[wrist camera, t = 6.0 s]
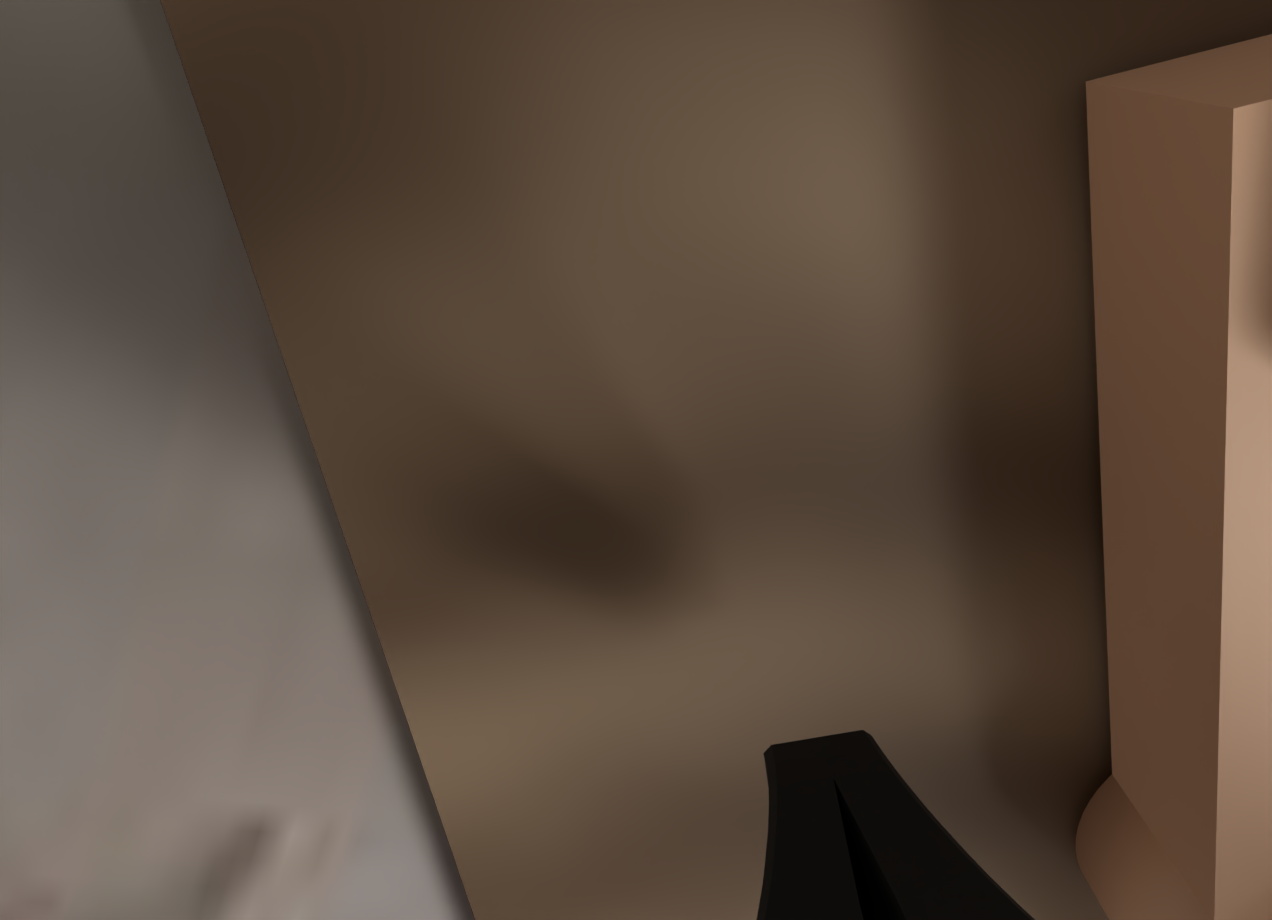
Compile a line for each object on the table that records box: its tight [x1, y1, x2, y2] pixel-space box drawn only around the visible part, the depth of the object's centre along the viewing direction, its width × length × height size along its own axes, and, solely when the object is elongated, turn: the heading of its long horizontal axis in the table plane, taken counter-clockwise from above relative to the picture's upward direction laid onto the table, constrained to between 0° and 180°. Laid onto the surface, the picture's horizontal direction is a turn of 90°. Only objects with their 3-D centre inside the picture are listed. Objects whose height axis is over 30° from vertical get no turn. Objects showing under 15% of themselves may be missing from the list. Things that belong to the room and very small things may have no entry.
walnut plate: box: [160, 0, 1272, 920], centre depth 15 cm, size 20×17×1 cm
